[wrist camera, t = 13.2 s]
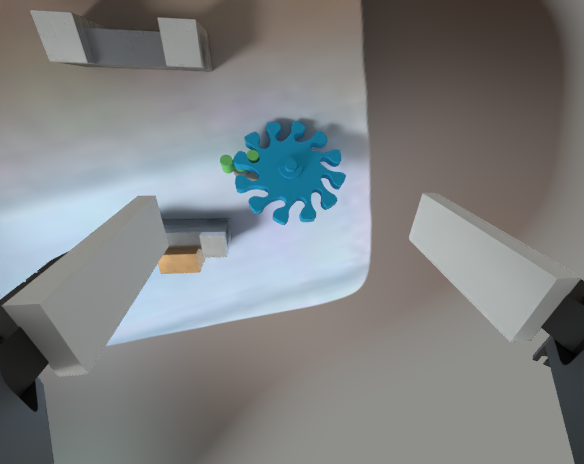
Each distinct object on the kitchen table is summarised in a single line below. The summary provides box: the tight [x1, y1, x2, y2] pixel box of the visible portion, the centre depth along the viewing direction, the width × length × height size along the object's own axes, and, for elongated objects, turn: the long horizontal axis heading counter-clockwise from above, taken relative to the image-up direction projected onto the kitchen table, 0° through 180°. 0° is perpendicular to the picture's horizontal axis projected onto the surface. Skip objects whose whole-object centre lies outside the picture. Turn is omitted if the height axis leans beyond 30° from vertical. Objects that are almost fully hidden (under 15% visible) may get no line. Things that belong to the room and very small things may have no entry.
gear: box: [220, 121, 346, 225], centre depth 23 cm, size 11×6×10 cm
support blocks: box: [30, 10, 231, 274], centre depth 22 cm, size 10×21×4 cm, turn 178°
